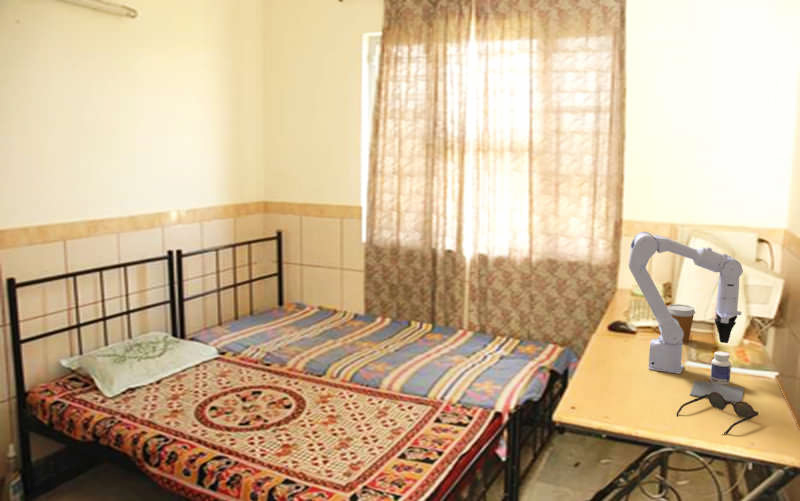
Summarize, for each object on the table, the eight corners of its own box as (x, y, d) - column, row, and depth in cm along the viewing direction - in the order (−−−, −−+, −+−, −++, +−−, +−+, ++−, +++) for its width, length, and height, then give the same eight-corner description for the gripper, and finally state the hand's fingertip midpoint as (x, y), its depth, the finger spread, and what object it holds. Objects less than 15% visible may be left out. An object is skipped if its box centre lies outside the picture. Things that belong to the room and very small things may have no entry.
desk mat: (690, 395, 188) (690, 394, 188) (694, 381, 198) (695, 380, 198) (741, 404, 181) (741, 402, 181) (743, 389, 192) (743, 387, 192)
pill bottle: (731, 385, 194) (734, 356, 193) (712, 384, 195) (714, 356, 194) (726, 379, 199) (728, 351, 198) (708, 378, 200) (710, 350, 199)
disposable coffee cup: (697, 344, 232) (700, 310, 230) (670, 344, 232) (672, 311, 230) (686, 335, 241) (688, 303, 239) (660, 336, 242) (662, 304, 239)
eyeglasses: (758, 423, 170) (759, 405, 169) (723, 438, 163) (725, 419, 162) (705, 404, 183) (706, 387, 182) (671, 417, 175) (672, 399, 174)
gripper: (741, 303, 193) (737, 348, 195) (743, 293, 205) (740, 335, 207) (714, 301, 196) (711, 345, 198) (718, 290, 208) (715, 332, 211)
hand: (724, 339), depth 203 cm, fingers open, 5 cm apart
